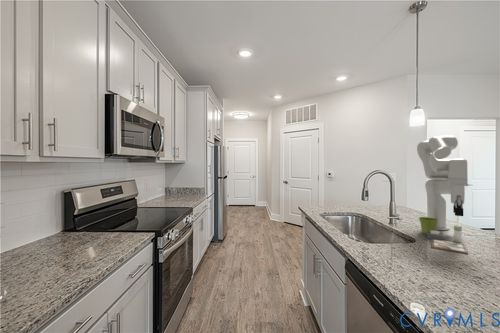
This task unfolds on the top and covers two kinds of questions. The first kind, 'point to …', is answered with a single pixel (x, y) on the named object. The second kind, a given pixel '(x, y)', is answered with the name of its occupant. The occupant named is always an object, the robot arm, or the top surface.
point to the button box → (434, 236)
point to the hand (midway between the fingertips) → (458, 214)
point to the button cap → (434, 232)
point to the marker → (457, 234)
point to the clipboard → (449, 246)
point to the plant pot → (428, 224)
